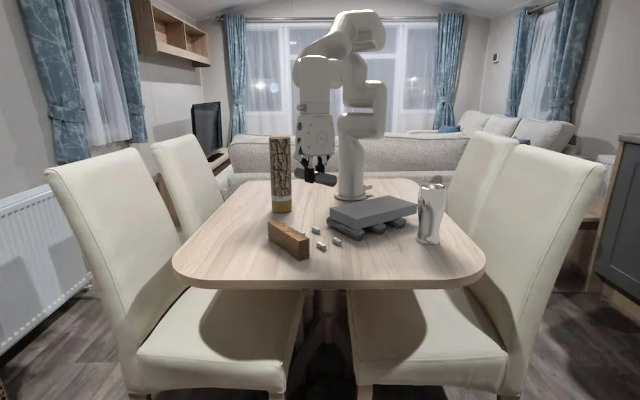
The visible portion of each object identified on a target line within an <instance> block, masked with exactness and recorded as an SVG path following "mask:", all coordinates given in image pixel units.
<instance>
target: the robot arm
mask: <svg viewBox="0 0 640 400" xmlns="http://www.w3.org/2000/svg"><path fill="white" fill-rule="evenodd" d="M386 39H387V33H386V28H385V26H384V23H383V21H382V19H381V17H380V16H379V14H378V13H377V11H374V10H373V9H363V10H360V9H359V10H350V11H349V10H348V11H342V12H339V13H338V14H337V15H336V16H335V17H334V19H333V20H332V22H331V23H330V26H329V27H328V31H327V32H326V33H325V35H324V36H321V37H320V38H319V39H317V40H314V41H313V42H311V43H310V44H308V45H307V46H305V47H303V48H302V49H301V50H300V52H299V53H298V56H297V57H296V59H295V61H294V63H293V67H292V70H291V71H292V72H291V77H292V81H293V84H294V86H295V87H297V88H298V89H299V92H298V93H299V95H298V96H299V104H297V106H296V110H297V111H299V115H298V116H297V118H296V126H295V139H294V141H295V142H294V143H295V148H294V149H295V151H294V154H293V157H292V159H294V160H295V161H297V162H299V163H300V164H301V167H302V168H304V178H305V180H304V182H305V183H308V184H310V185H311V184H314V183H315V182H314V171H318V172H322V173H326V167H327V165H328V161H329V160H330V159H331V158H332V157H333V156H334V155H335V151H336V150H335V149H336V133H335V125H334V119H333V115H332V114H330V113H331V108H330V107H331V106H330V105H331V103H330V101H331V90H338V89H340V88H341V87H342V104H343V106H344V107H345V108H347V109H348V108H349V109H360V110H361V109H362V110H363V109H366V110H367V109H368V110H372V112H361V111H359V112H358V111H350V112H343V113H341V114H340V115H339V116H338V118H337V120H336V130H337V131H336V132H337V137H338V179H337V183H338V185H337V186H338V187H337V188H338V190H336V191H334V194H333V197H334V198H336V199H338V200H341V201H348V202H349V201H351V202H352V201H354V202H357V201H363V200H366V198H367V197H368V193H367V192H366V191H367V190H372V189H373V185H372V184H371V183H369V184H367V185H366V184H365V183H364V180H365V179H364V177H365V176H364V172H365V150H364V147H363V145H362V144H361V142H360V141H359V140H366V141H367V140H368V141H369V140H370V141H371V140H372V141H378V140H381V139H383V137H384V135H385V133H386V123H387V121H386V120H387V108H388V107H387V106H388V88H387V85H386V83H385V82H383V81H381V80H368V64H367V63H366V61H365V59H364V58H363V57H362V55H360V53H371V52H380V51H382V50H383V48H384V47H385V45H386ZM314 157H316V164H315V165H314V167H313V162H314Z"/></svg>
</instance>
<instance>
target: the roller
mask: <svg viewBox="0 0 640 400" xmlns="http://www.w3.org/2000/svg"><path fill="white" fill-rule="evenodd" d="M293 175H294V177H295V178H296V179H300V180H304V181H305V178H304V167H300V166H299V167H296V168H295V169H294V172H293ZM314 183H316V184H319V185H324V186H327V187H330V188H333V187H335V186H337V183H338V176H336V175H335V174H330V173H327V172H325V173H322V172H318V171H315V170H314Z"/></svg>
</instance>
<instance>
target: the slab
mask: <svg viewBox="0 0 640 400" xmlns="http://www.w3.org/2000/svg"><path fill="white" fill-rule="evenodd" d="M417 204H418V203H415V202H413V201H409V200H406V199H405V200H404V199H402V198H399V197H396V196H392V195H389V194H387V195H384V196H379V197H375V198H368V199H363V200H358V201H354V202H350V203H346V204H342V205H340V204H339V205H337V206H331V207H329V216H330V218H332V219H334V220H336V221H338V222H340V223H342V224H344V225H347V226H349V227H351V228H353V229H355V230H357V229H364V228H365V229H366V227H369V226H372V225H376V224H380V223H383V224H384V223H386V222H387V221H391V220H395V219H398V218H405V217H409V216H413V215H416V214H417V215H418V207H417Z"/></svg>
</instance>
